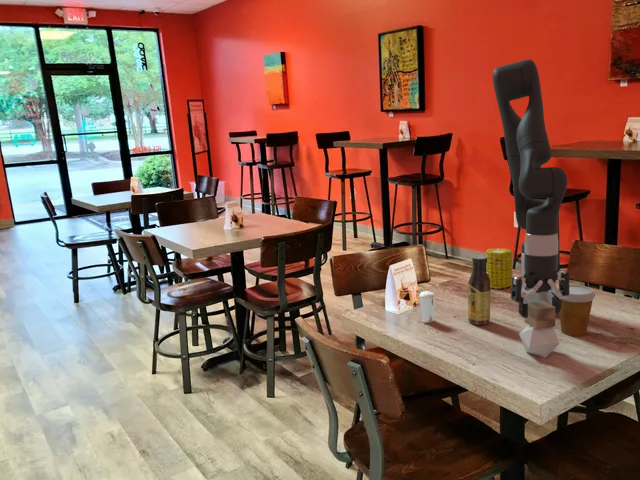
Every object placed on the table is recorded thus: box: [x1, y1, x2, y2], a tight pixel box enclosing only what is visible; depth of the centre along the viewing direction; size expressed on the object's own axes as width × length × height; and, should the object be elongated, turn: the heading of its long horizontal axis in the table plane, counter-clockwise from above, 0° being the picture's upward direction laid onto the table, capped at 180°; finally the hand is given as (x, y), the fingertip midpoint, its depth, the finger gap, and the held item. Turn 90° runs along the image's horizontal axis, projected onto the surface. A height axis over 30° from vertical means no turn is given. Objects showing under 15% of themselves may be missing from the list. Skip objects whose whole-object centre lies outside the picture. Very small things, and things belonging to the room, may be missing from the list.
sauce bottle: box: [467, 254, 492, 326], centre depth 159 cm, size 7×6×20 cm
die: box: [518, 324, 561, 359], centre depth 138 cm, size 8×9×10 cm
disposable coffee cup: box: [557, 284, 596, 337], centre depth 149 cm, size 10×10×12 cm
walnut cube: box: [524, 301, 556, 329], centre depth 137 cm, size 5×5×5 cm
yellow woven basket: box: [485, 247, 514, 290], centre depth 192 cm, size 14×11×9 cm
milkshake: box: [418, 288, 439, 324], centre depth 164 cm, size 4×5×10 cm
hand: (539, 314), depth 137 cm, fingers open, 8 cm apart
